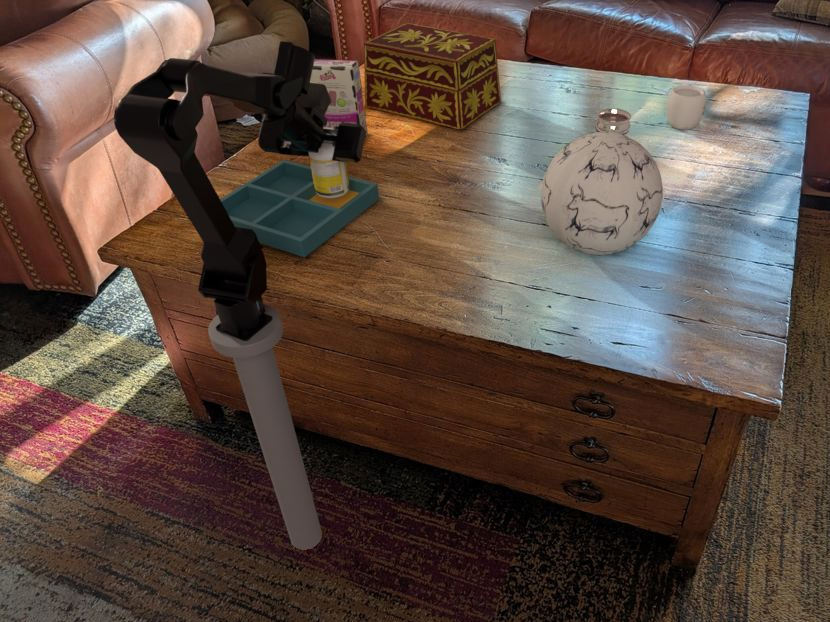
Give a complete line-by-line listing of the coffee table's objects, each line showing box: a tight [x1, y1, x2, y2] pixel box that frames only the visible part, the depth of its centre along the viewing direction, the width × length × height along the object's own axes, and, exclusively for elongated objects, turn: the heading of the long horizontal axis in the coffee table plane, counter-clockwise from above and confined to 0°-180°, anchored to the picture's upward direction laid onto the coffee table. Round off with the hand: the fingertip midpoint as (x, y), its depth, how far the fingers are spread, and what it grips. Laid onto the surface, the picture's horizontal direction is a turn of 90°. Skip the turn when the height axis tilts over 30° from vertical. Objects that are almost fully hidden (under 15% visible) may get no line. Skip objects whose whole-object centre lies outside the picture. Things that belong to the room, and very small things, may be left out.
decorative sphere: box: [540, 131, 664, 256], centre depth 121 cm, size 20×20×20 cm
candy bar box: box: [310, 58, 368, 138], centre depth 157 cm, size 11×5×16 cm, turn 81°
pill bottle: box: [308, 127, 349, 198], centre depth 133 cm, size 6×6×12 cm
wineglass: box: [594, 107, 632, 136], centre depth 144 cm, size 7×7×12 cm
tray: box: [219, 159, 380, 258], centre depth 137 cm, size 23×23×3 cm
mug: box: [665, 84, 708, 130], centre depth 163 cm, size 12×8×8 cm
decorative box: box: [363, 22, 502, 131], centre depth 171 cm, size 28×19×15 cm
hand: (330, 155), depth 134 cm, fingers closed on pill bottle, 6 cm apart
